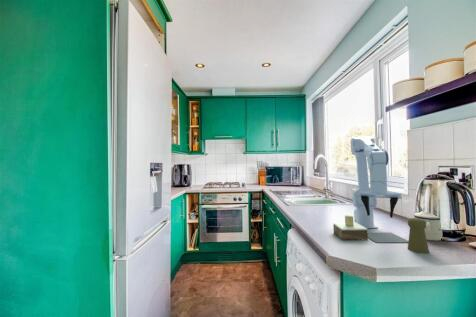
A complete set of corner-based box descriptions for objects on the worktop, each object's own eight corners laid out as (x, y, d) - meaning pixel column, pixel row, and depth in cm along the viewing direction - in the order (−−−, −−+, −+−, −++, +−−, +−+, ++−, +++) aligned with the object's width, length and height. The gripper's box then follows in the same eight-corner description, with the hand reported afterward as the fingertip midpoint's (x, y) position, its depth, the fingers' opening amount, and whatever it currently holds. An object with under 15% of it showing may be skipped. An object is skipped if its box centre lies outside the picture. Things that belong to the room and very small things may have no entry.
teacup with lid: (415, 233, 102) (413, 206, 103) (442, 236, 97) (441, 208, 97) (414, 240, 93) (413, 210, 93) (445, 244, 87) (443, 213, 88)
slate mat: (360, 233, 104) (360, 232, 104) (391, 233, 103) (390, 232, 103) (376, 242, 91) (376, 242, 91) (411, 242, 90) (411, 242, 90)
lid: (333, 225, 105) (333, 213, 105) (356, 225, 104) (355, 213, 104) (342, 232, 95) (341, 218, 95) (367, 232, 94) (366, 218, 95)
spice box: (333, 233, 105) (333, 224, 105) (356, 233, 104) (356, 223, 104) (342, 240, 95) (341, 230, 95) (367, 240, 94) (367, 230, 94)
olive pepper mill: (433, 253, 79) (431, 220, 79) (413, 252, 80) (411, 220, 81) (422, 247, 85) (421, 216, 85) (404, 246, 86) (402, 216, 86)
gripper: (356, 181, 93) (357, 216, 93) (400, 182, 85) (402, 220, 84) (359, 180, 99) (360, 212, 99) (400, 181, 91) (402, 216, 90)
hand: (379, 216), depth 92 cm, fingers open, 7 cm apart
